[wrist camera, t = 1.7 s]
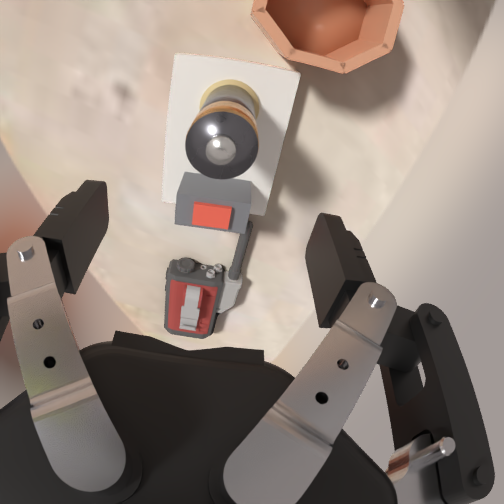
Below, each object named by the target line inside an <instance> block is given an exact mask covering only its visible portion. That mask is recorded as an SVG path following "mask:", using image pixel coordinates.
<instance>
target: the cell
mask: <svg viewBox="0 0 504 504" xmlns="http://www.w3.org/2000/svg"><path fill="white" fill-rule="evenodd" d="M185 150H186V155H187V158H188V160H189V162H190V163H191V165H192V166H193V167H194V168H195V169H196V170H197V171H198V172H199V173H201V174H203V175H205V176H207V177H210V178H213V179H231V178H235V177H237V176H239V175H241V174H243V173H244V172H246V171H247V170H248V169H249V168H250V167H251V166H252V164H253V163H254V161H255V159H256V157H257V154H258V150H259V139H258V129H257V124H256V118H255V108H254V102H253V99H252V97H251V95H250V94H249V93H248V92H247V91H246V90H245V89H243V88H241V87H239V86H236V85H223V86H220V87H217V88H216V89H214V90H213V91H212V92H211V93H210V94H209V95H208V97H207V98H206V100H205V102H204V104H203V106H202V107H201V109H200V111H199V113H198V114H197V115H196V117H195V119H194V121H193V123H192V124H191V126H190V128H189V130H188V132H187V135H186V140H185Z"/></svg>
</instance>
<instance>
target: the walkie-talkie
mask: <svg viewBox="0 0 504 504" xmlns="http://www.w3.org/2000/svg"><path fill="white" fill-rule="evenodd" d="M252 227H253V224H252V222H250V221H248V222H247V226H246V231H245V234H242V233H240V236H239V240H238V244H237V247H236V251H235V255H234V259H233V262H232V266H231V267H230V269H229V271H226V270H223V268H222V265H221V264H215V266H210V265H204V264H198V263H194V261H193V260H192V259H189V258H181V259H179V260H174V259H173V260H172V261H170V265H169V268H167V272H166V279H167V281H166V285H165V291H166V298H165V300H166V301H165V320H164V321H165V322H164V323H165V324H164V328H165V329H166V330H167V331H168V332H169V333H170V334H174V335H180V336H187V337H193V338H200V339H204V338H206V337H208V336H210V335H212V333H213V331H214V327H215V323H216V319H217V316H218V315H219V314H220V313H223V312H224V311H225V310H227V309H229V308H231V307H233V306H234V304H235V301H236V298H237V295H238V292H239V289H240V288H241V286H242V273H241V269H240V268H241V265H242V261H243V258H244V255H245V251H246V248H247V244H248V241H249V237H250V234H251V230H252Z"/></svg>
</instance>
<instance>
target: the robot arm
mask: <svg viewBox="0 0 504 504" xmlns="http://www.w3.org/2000/svg"><path fill="white" fill-rule="evenodd" d="M108 223H109V212H108V198H107V185H106V182H104V181H94V180H86V181H85V182H84V183H83V184H82V185H81V186H80V188H79V189H78V190H77V191H76V192H71V193H69V194H68V195H66V196H65V197H63V198H62V199H61V200H60V201H59V203H58V204H57V205H56V208H54V209H53V210H52V211H51V213H50V215H48V217H47V218H46V219H45V220H44V222H43V223H42V225H41V226H40V227H39V228H38V230H37V231H36V233H35V234H34V235H33V236H27V237H23V238H21V239H19V240H17V241H15V242H14V243H13V244H12V245H11V246H10V248H9V249H8V251H7V253H0V341H1V338H2V336H3V334H4V331H5V329H6V326H7V324H8V322H9V319H10V323H11V328H12V333H13V338H14V343H15V347H16V352H17V356H18V360H19V364H20V368H21V372H22V375H23V379H24V383H25V386H26V389H27V390H25V391H24V392H23V393H21V394H20V395H19V396H17V397H16V398H15V399H14V400H12V401H11V402H9V403H8V404H7V405H6V406H4V407H3V408H2V409H0V504H469V503H471V502H474V501H477V500H480V499H482V498H484V497H485V496H487V495H488V494H489V492H490V491H491V489H492V487H493V484H494V478H495V476H494V475H495V473H494V467H493V461H492V457H491V452H490V448H489V443H488V439H487V434H486V430H485V427H484V423H483V419H482V415H481V412H480V408H479V405H478V401H477V398H476V395H475V392H474V388H473V385H472V382H471V379H470V376H469V373H468V370H467V367H466V364H465V361H464V359H463V356H462V353H461V351H460V348H459V345H458V343H457V340H456V337H455V335H454V332H453V330H452V327H451V326H450V323H449V320H448V318H447V316H446V315H445V314H444V313H443V312H442V310H440V309H439V308H438V307H436V306H434V305H432V304H428V303H424V304H421V305H420V306H419V308H418V309H417V310H416V311H415V312H413V311H410V310H408V309H405V308H402V307H400V306H397V303H396V299H395V297H394V296H393V294H392V293H391V292H390V291H389V290H388V289H386V288H385V287H383V286H382V285H380V284H378V283H376V280H375V278H374V275H373V273H372V270H371V268H370V266H369V263H368V261H367V259H366V256H365V254H364V252H363V249H362V246H361V244H360V242H359V240H358V239H357V238H356V237H355V236H354V234H353V233H352V232H351V231H347V230H346V228H345V226H344V224H343V221H342V219H341V217H340V216H336V215H331V214H326V213H320V214H319V215H318V217H317V220H316V223H315V225H314V228H313V231H312V233H311V236H310V239H309V241H308V244H307V248H306V254H305V259H306V265H307V269H308V274H309V279H310V284H311V288H312V293H313V298H314V303H315V308H316V313H317V318H318V324H319V327H320V328H331V329H330V331H329V333H328V334H327V335H326V337H325V338H324V340H323V341H322V342H321V344H320V345H319V347H318V348H317V349H316V351H315V352H314V353H313V355H312V356H311V358H310V359H309V360H308V362H307V363H306V364H305V366H304V367H303V368H302V370H301V371H300V372H299V374H298V375H297V376H296V378H294V377H293V376H292V375H291V374H289V373H288V372H286V371H285V370H283V369H282V368H280V367H278V366H276V365H273V364H271V363H269V362H266V361H264V350H255V349H244V348H234V347H221V348H212V349H202V350H190V351H189V350H184V349H181V348H179V347H176V346H173V345H171V344H168V343H165V342H163V341H160V340H158V339H155V338H153V337H150V336H143V335H138V334H132V333H126V332H120V331H115V334H114V338H113V341H107V342H101V343H97V344H93V345H90V346H88V347H85V348H83V349H82V350H80V349H79V346H78V344H77V341H76V338H75V336H74V333H73V330H72V328H71V325H70V322H69V320H68V317H67V314H66V311H65V308H64V305H63V302H62V299H61V298H62V296H63V294H64V292H66V293H71V294H76V292H77V290H78V288H79V286H80V283H81V281H82V279H83V277H84V275H85V273H86V271H87V269H88V267H89V265H90V263H91V261H92V259H93V257H94V255H95V253H96V251H97V249H98V247H99V245H100V243H101V241H102V239H103V237H104V236H105V234H106V231H107V228H108ZM420 362H422V365H423V369H424V373H425V377H426V382H425V386H424V388H423V385H422V381H421V377H420V373H419V369H418V366H417V365H418V364H419V363H420ZM376 364H379V365H380V369H381V374H382V379H383V384H384V389H385V394H386V399H387V404H388V410H389V416H390V422H391V428H392V435H393V441H394V448H395V452H394V453H393V454H392V456H391V457H390V460H389V465H388V468H387V469H386V471H385V472H384V471H383V470H382V469H381V468H380V467H379V466H378V465H377V464H376V463H375V462H374V461H373V460H372V459H371V458H370V457H369V456H368V455H367V454H366V453H365V452H364V451H363V450H362V449H361V448H360V447H359V446H358V445H357V444H356V443H355V442H354V441H353V439H352V438H351V437H350V436H349V435H348V434H347V433H346V432H345V431H344V430H343V429H342V427H343V426H344V424H345V422H346V420H347V419H348V417H349V415H350V413H351V412H352V410H353V408H354V406H355V404H356V402H357V400H358V399H359V397H360V395H361V393H362V391H363V389H364V387H365V385H366V383H367V381H368V379H369V377H370V375H371V373H372V371H373V369H374V367H375V365H376Z"/></svg>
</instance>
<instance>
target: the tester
mask: <svg viewBox="0 0 504 504" xmlns="http://www.w3.org/2000/svg"><path fill="white" fill-rule="evenodd" d="M300 76H301V73H300V72H299V71H295V70H291V69H286V68H282V67H277V66H272V65H267V64H262V63H257V62H251V61H245V60H239V59H232V58H225V57H218V56H209V55H200V54H190V53H176V54H175V57H174V64H173V71H172V79H171V87H170V96H169V105H168V114H167V125H166V136H165V149H164V163H163V180H162V202H168V203H176V210H175V224H177V225H184V226H191V227H199V228H206V229H213V230H220V231H228V232H235V233H242V234H245V231H246V226H247V222H248V217H249V214H254V215H260V216H265V212H266V208H267V204H268V200H269V196H270V192H271V189H272V185H273V181H274V177H275V173H276V169H277V165H278V161H279V157H280V154H281V150H282V146H283V142H284V138H285V134H286V130H287V126H288V122H289V119H290V115H291V111H292V107H293V103H294V99H295V95H296V91H297V87H298V83H299V80H300ZM223 85H236V86H239V87H241V88H243V89H245V90H246V91H247V92H248V93H249V94H250V95H251V97H252V99H253V102H254V108H255V118H256V124H257V129H258V139H259V150H258V154H257V157H256V159H255V161H254V163H253V164H252V166H251V167H250V168H249V169H248V170H247V171H246V172H244V173H243V174H241V175H239V176H237V177H235V178H231V179H213V178H210V177H207V176H205V175H203V174H201V173H199V172H198V171H197V170H196V169H195V168H194V167H193V166H192V165H191V163H190V162H189V160H188V158H187V155H186V150H185V140H186V135H187V132H188V130H189V128H190V126H191V124H192V123H193V121H194V119H195V117H196V115H197V114H198V113H199V111H200V109H201V107H202V106H203V104H204V102H205V100H206V98H207V97H208V95H209V94H210V93H211V92H212V91H213V90H214V89H216V88H217V87H220V86H223Z"/></svg>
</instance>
